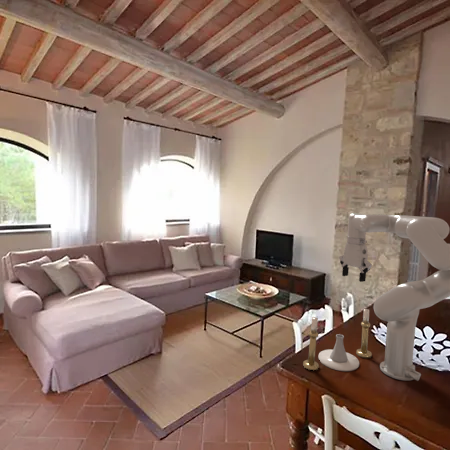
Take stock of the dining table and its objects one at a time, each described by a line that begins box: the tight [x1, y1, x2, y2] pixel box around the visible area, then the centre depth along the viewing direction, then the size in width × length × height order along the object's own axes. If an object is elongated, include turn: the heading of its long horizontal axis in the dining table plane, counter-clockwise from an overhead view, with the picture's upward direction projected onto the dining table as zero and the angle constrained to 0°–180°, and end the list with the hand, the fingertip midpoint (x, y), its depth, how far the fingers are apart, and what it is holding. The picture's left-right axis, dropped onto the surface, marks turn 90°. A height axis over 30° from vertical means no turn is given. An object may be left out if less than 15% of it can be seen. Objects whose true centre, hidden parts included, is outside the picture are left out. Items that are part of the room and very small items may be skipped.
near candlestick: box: [302, 316, 320, 372], centre depth 125 cm, size 6×6×20 cm
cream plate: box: [317, 348, 360, 372], centre depth 132 cm, size 16×16×1 cm
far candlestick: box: [355, 308, 373, 359], centre depth 136 cm, size 6×6×20 cm
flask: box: [330, 333, 348, 363], centre depth 131 cm, size 7×7×10 cm
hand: (353, 278), depth 143 cm, fingers open, 9 cm apart
